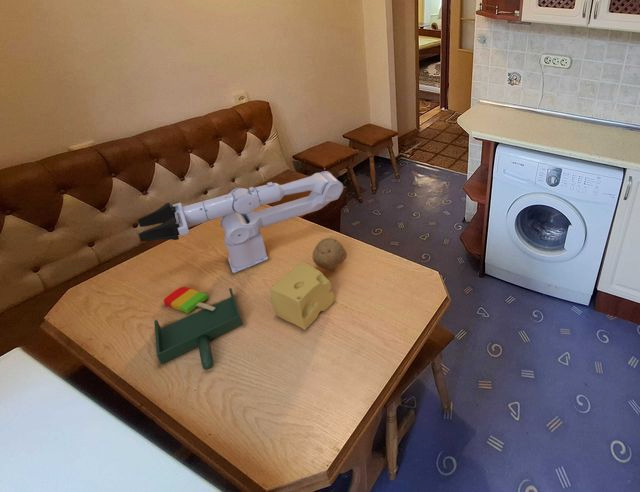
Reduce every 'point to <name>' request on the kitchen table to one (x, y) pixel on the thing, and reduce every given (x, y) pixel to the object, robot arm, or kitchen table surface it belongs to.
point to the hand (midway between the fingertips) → (139, 230)
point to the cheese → (301, 295)
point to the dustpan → (197, 331)
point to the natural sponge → (329, 253)
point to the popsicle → (187, 300)
